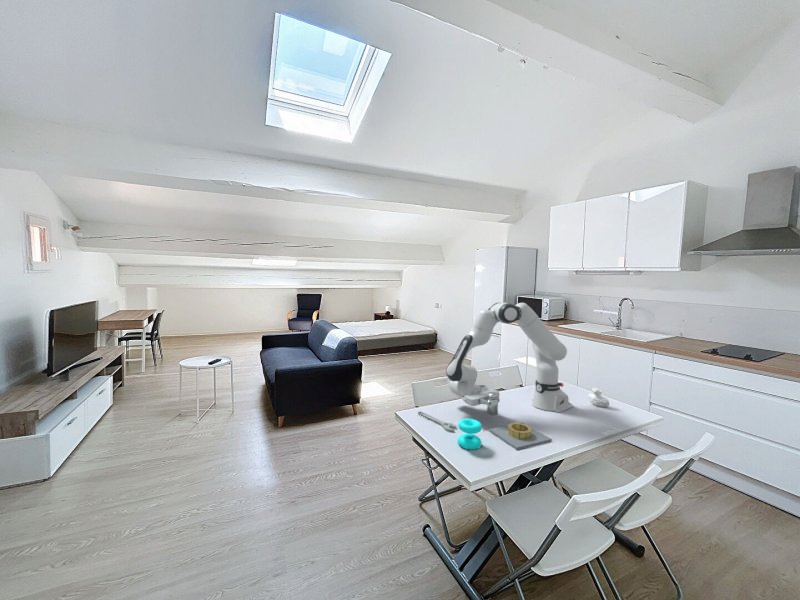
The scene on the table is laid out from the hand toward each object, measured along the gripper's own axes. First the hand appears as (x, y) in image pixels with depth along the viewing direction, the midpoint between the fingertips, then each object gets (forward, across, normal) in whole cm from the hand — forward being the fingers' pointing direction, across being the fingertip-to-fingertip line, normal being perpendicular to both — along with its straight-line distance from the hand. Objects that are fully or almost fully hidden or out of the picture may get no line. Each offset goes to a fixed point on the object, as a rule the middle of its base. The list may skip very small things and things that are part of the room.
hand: (494, 402), depth 163 cm
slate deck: (+15, 0, +11) cm, 19 cm away
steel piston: (-1, 0, +6) cm, 6 cm away
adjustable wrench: (-16, -23, +11) cm, 30 cm away
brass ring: (+15, 0, +11) cm, 19 cm away
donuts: (+9, -26, +11) cm, 29 cm away
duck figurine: (+15, +70, +12) cm, 72 cm away
